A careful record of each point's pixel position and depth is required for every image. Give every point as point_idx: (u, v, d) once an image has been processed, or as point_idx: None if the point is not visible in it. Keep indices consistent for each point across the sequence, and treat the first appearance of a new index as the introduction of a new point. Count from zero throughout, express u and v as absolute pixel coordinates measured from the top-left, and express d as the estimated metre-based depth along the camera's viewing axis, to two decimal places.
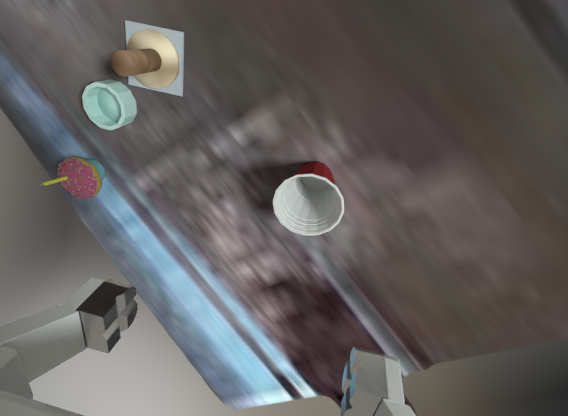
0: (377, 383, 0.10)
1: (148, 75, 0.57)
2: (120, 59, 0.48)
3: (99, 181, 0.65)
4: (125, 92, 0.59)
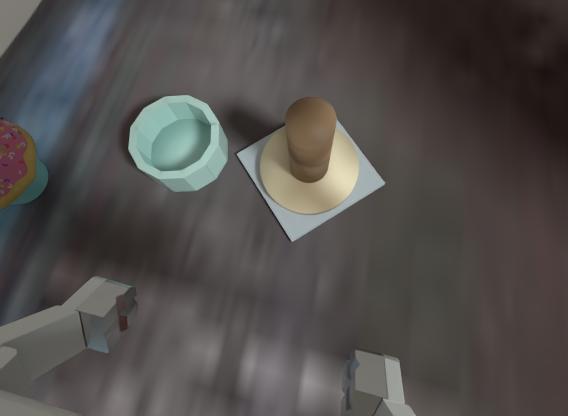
0: (377, 383, 0.10)
1: (281, 173, 0.30)
2: (316, 113, 0.23)
3: (3, 203, 0.28)
4: (222, 155, 0.31)
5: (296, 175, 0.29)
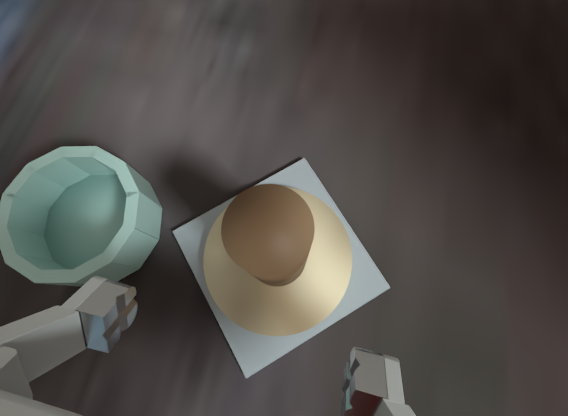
0: (377, 383, 0.10)
1: (234, 268, 0.20)
2: (279, 216, 0.13)
3: None
4: (148, 237, 0.20)
5: None
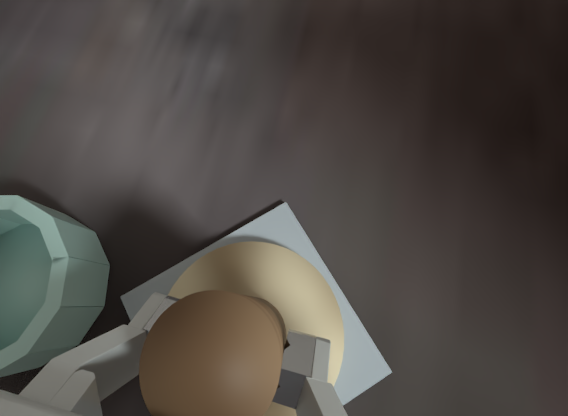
0: (303, 362, 0.10)
1: None
2: (227, 344, 0.08)
3: None
4: (85, 309, 0.16)
5: None
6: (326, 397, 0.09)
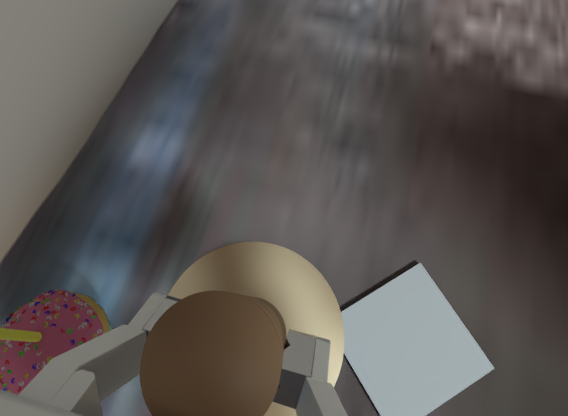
0: (303, 362, 0.10)
1: None
2: (228, 344, 0.08)
3: None
4: None
5: None
6: (325, 397, 0.09)
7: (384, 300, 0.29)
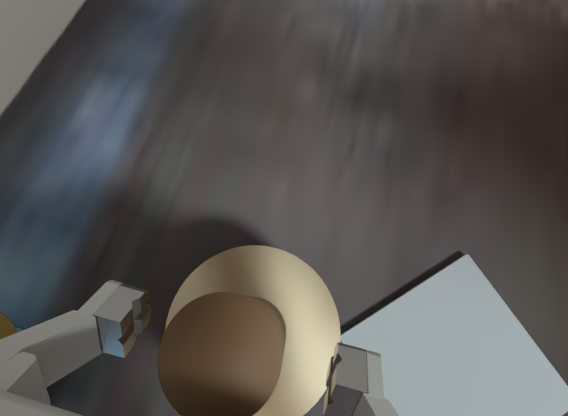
0: (358, 378, 0.10)
1: None
2: (235, 339, 0.09)
3: None
4: None
5: None
6: (386, 415, 0.09)
7: (420, 306, 0.21)
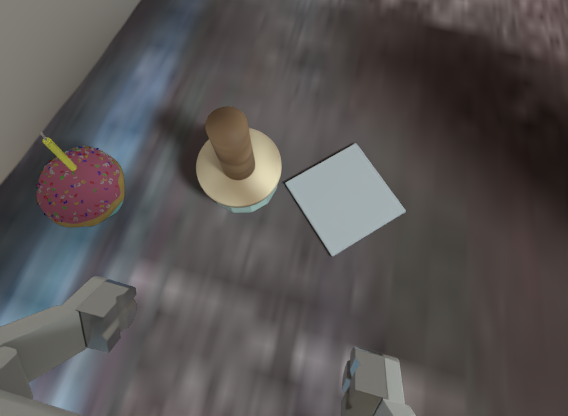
0: (377, 383, 0.10)
1: (214, 171, 0.35)
2: (231, 120, 0.28)
3: (100, 220, 0.33)
4: None
5: (225, 173, 0.34)
6: None
7: (328, 168, 0.39)
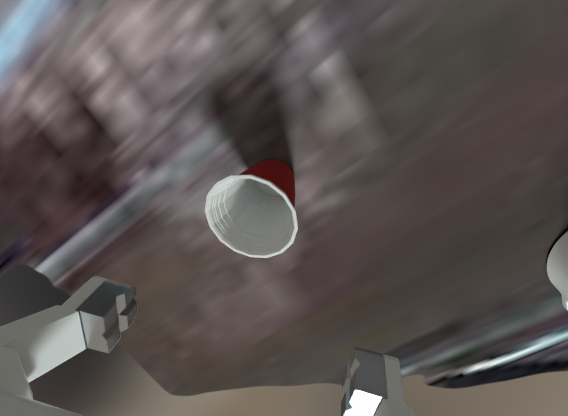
0: (377, 383, 0.10)
1: None
2: None
3: None
4: None
5: None
6: None
7: None
